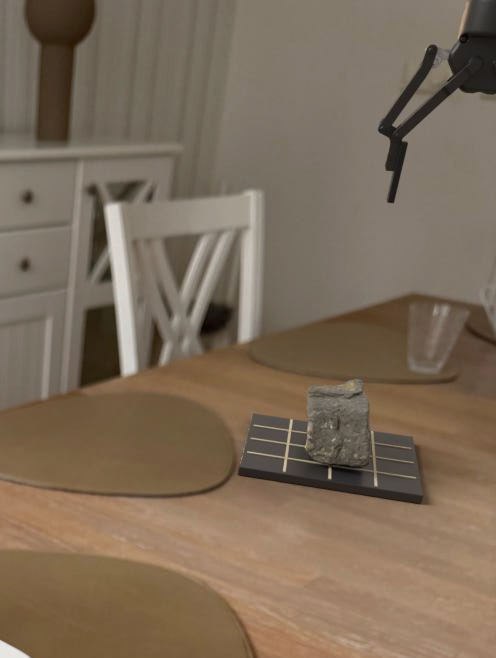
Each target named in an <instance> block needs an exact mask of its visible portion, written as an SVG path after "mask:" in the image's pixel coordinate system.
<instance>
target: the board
mask: <svg viewBox="0 0 496 658" xmlns="http://www.w3.org/2000/svg"><path fill="white" fill-rule="evenodd" d="M307 429H308V420H301V419H294V418H289V417H288V418H287V417H281V416H274V415H266V414H261V413H255V412H254V413H253V412H252V414H251V417H250V422H249V426H248V429H247V435H246V437H245V441H244V446H243V450H242V454H241V457H240V461H239V466H238V471H237V475H238V476H243V477H249V478H256V479H260V480H261V479H262V480H268V481H274V482H280V483H287V484H294V485H299V486H305V487H312V488H317V489H319V488H320V489H326V490H332V491H336V492H338V491H339V492H344V493H351V494H357V495H363V496H369V497H376V498H381V499H387V500H393V501H400V502H407V503H411V504H412V503H413V504H419V505H422V502H423V498H424V492H423V488H422V481H421V476H420V470H419V465H418V464H419V463H418V459H417V453H416V448H415V447H416V446H415V442H414V437H413V436H410V435H405V434H404V435H403V434H397V433H390V432H383V431H375V430H370V450H369V451H370V461H369V465H368V466H366V467H358V466H349V465H338V464H329V463H323V462H317V461H315V460H314V459H312V458H311V456H310V454H309V451H307V450H306V440H307Z"/></svg>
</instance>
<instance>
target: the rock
mask: <svg viewBox="0 0 496 658" xmlns="http://www.w3.org/2000/svg"><path fill="white" fill-rule="evenodd" d="M364 388H365V385H364V381H363V380H362V379H358V378H354V379H349V380H347V381H346V382H344V383H342V384H337V385H331V384H324V385H316V384H312V385H311V386H309V387H308V388H307V398H306V419H307V421H308V429H307V440H306V450H307V451H309V454H310V456H311V458H312V459H314V460H315V461H317V462H323V463H329V464H338V465H349V466H358V467H366V466H368V465H369V461H370V451H369V450H370V431H371V428H370V427H371V426H370V400H369V399H368V397H367V396H366V394H365V389H364Z"/></svg>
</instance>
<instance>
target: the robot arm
mask: <svg viewBox="0 0 496 658" xmlns="http://www.w3.org/2000/svg"><path fill="white" fill-rule="evenodd" d="M461 17H462V18H461V21H460V25H459V28H458V33H457V37H456V40H455V43H454V44H453V46H452V48H446V47H440V46H437V45H436V44H433V43H432V44H428V45H427V46H426V47H425V48H424V51H423V53H422V56H421V60H420V63H419V66H418V67H417V68H416V70H415V71H414V73H413V74H412V76H411V77H410V78H409V80H408V82H407V83H406V84H405V86H404V87H403V88H402V90H401V91H400V93H399V94H398V96H397V97H396V98H395V100H394V101H393V103H392V104H391V105H390V107H389V108H388V110H387V111H386V113H385V114H384V115H383V117H382V119H381V120H379V123H378V124H377V127H376V130H377V132H378V133H379V134H381V135H383V136H385V137H386V138H388V139H389V145H388V149H387V153H386V158H385V162H384V168H385V171H386V172H392V173H391V179H390V183H389V187H388V191H387V196H386V203H388V204H395V201H396V196H397V192H398V188H399V183H400V180H401V175H402V172H403V171H402V170H403V167H404V163H405V159H406V155H407V154H406V153H407V150H408V146H409V142H408V141H406V140H403V139H404V138H405V137H406V136H407V135H408V134H409V133H411V132H412V130H414V129H415V128H416V127H417V126H418V125H419V124H420V123H421V122H422V121H423V120H424V119H426V118H427V117H428V116H429V115H430V114H432V112H433V111H434V110H435V109H436V108H438V107H439V106H440V105H441V104H442V103H443V102H444V101H445V100H446V99H447V98H449V97H450V96H451V95H452V94H453V93H455V92H456V91H457V90H460V91H461V92H463V94H464V93H465V94H477V93H482V94H485V95H489V96H490V95H492V96H494V95H496V0H466V1H465V4H464V8H463V13H462V16H461ZM446 60H447V64H448V66H449V68H450V72H451V74H452V75H451V76H450V77H448V79H446V81H444V82H443V83H442V84H441V85H440V86H439V87H438V89H437V90H435V91H434V92H433V93H432V94H431V95H430V96H429V97H428V98H427V99H426V100H425V101H423V102H422V103H421V104H420V105H419V106H418V107H417V108H416V109H415V110H413V112H411V114H410V115H409V116H407V117H406V118H405V119H404V120H403V121H402V122H401V123H400V124H398V125H397V127H396V126H394V123H395V122H396V120H398V118H399V116H400V115H401V114H402V112H403V111H404V109H405V108H406V107H407V105H408V104H409V102H410V101H411V100H412V98H413V97H414V95H415V94H416V92H417V91H418V89H419V88H420V87H421V85H423V83H424V81H425V80H426V78H428V77H427V76H428V75H429V74H430V72H431V71H432V69H437V68H438V67H440V65H441V63H443V61H446Z"/></svg>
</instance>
